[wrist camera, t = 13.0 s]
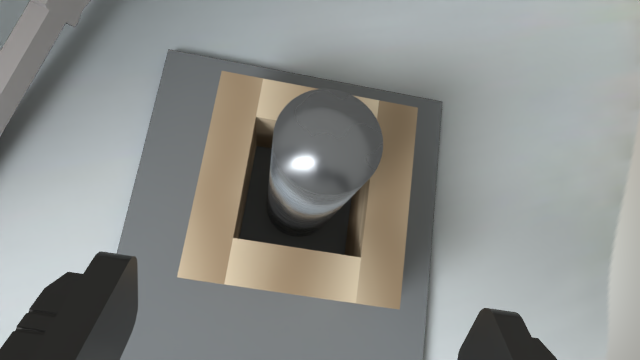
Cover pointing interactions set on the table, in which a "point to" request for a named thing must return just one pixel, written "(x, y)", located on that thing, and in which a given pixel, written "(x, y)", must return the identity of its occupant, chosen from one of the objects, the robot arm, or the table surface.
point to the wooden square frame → (283, 261)
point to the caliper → (31, 48)
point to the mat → (253, 304)
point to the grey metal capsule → (320, 158)
